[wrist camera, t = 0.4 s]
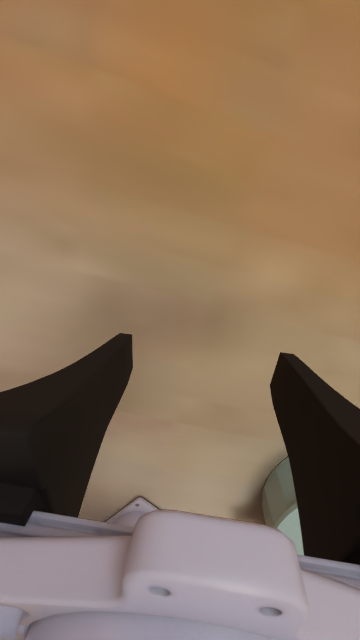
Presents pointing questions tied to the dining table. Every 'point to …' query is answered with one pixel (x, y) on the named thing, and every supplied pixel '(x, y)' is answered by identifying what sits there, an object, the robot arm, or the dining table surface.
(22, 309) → the dining table surface
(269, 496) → the pot
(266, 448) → the dining table surface
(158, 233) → the dining table surface
